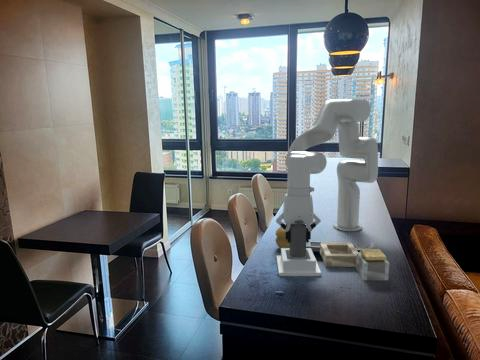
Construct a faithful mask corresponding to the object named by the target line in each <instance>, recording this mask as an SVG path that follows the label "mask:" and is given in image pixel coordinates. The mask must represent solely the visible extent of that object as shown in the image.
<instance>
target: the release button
mask: <svg viewBox="0 0 480 360" xmlns="http://www.w3.org/2000/svg"><path fill="white" fill-rule="evenodd" d="M360 252H361V254H362V255H363V257H364V259H365V260H366V261H367V262H383V260H387V256H386V255H385V254H384V252H383V251H382V250H381V249H380V248H372V249H366V248H364V249H363V248H362V249H360Z"/></svg>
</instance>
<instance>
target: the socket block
mask: <svg viewBox="0 0 480 360" xmlns="http://www.w3.org/2000/svg"><path fill="white" fill-rule="evenodd" d="M353 245H354V244H353V243H352V242H350V243H348V242H320V243H319V254H320V256H321V259H322V261H323V264H324V265H325V267H326V268H327V267H329V268H330V267H331V268H333V267H334V268H335V267H336V268H340V267H341V268H342V267H346V268H347V267H349V268H350V267H354V268H355V270H356V271H357V273H358V274H359V276H360V277H361V279H362V281H389V275H390V274H389V273H390V262H389V261H388V260H387V259H386V260H383V262H367V261H366V260H365V259H364V257H363V255H362V254H361V253H358V251H357V250H356V248H357V247H356V248H355V247H354V246H353Z"/></svg>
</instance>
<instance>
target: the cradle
mask: <svg viewBox="0 0 480 360" xmlns="http://www.w3.org/2000/svg"><path fill="white" fill-rule="evenodd" d="M276 264H277V270H278V277H321V276H322V271H321V269H320V266H319V264H318V261H317V258H316V257H315V255H314V252H313V249H312V248H311V247H306V256H305V257H301V258H296V257H292V256H291V255H290V248H281V249H280V255H278V254H277V255H276Z"/></svg>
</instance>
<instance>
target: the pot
mask: <svg viewBox="0 0 480 360" xmlns="http://www.w3.org/2000/svg"><path fill="white" fill-rule="evenodd" d="M289 230H290V228H289ZM275 236H276V238H275V243H276V245H277V246H278V248H279V249H280V250H281V248H289V244H290V242H289V243H288V241H287V240H286V238H285V230H284V229H283V228H282V227H281V226H279V228H277V229H276V231H275Z"/></svg>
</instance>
